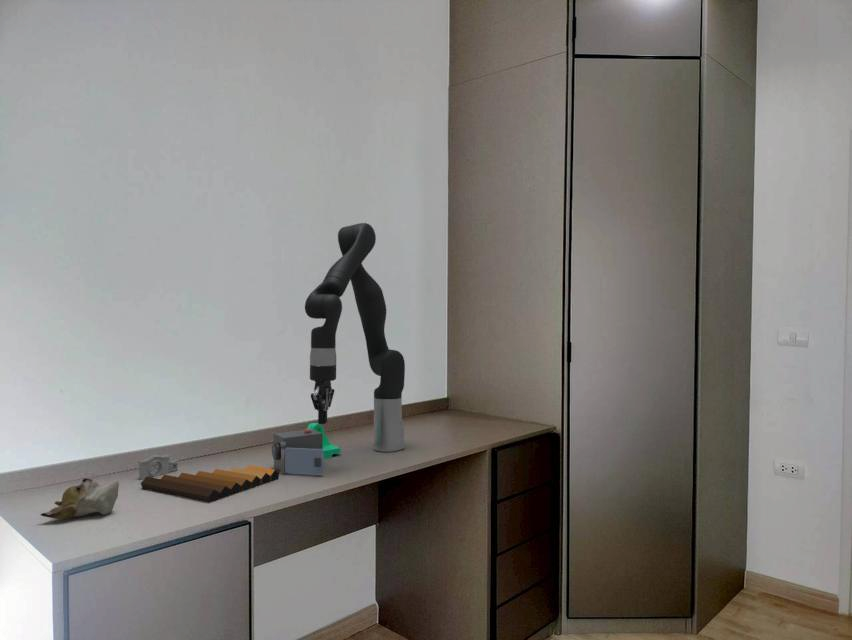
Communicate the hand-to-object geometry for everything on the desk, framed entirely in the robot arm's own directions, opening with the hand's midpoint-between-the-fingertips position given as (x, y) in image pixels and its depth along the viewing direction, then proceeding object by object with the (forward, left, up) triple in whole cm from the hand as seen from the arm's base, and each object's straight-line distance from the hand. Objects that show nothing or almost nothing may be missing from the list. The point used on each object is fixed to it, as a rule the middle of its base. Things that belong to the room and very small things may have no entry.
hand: (322, 423), depth 183 cm
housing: (+5, -7, -14) cm, 16 cm away
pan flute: (+30, -4, -15) cm, 34 cm away
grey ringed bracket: (+40, -22, -14) cm, 48 cm away
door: (+7, +1, -13) cm, 15 cm away
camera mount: (-7, -17, -14) cm, 23 cm away
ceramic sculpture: (+62, +6, -14) cm, 63 cm away
